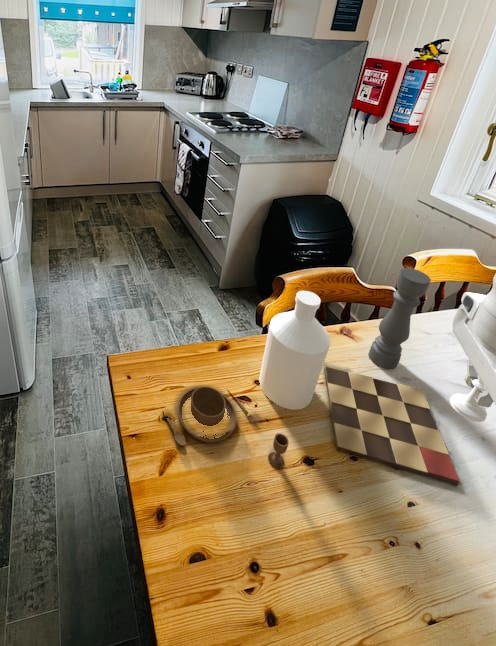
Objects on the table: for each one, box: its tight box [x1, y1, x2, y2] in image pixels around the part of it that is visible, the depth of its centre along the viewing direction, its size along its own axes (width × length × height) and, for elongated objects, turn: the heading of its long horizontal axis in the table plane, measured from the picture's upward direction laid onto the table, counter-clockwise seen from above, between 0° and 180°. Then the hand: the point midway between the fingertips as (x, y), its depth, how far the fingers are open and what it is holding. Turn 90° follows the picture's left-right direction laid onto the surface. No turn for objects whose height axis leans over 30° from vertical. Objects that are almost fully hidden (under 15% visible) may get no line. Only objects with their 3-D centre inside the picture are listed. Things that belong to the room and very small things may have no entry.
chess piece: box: [449, 375, 488, 423], centre depth 65 cm, size 5×5×10 cm
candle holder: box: [368, 267, 432, 371], centre depth 92 cm, size 6×6×25 cm
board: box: [323, 366, 460, 487], centre depth 82 cm, size 20×20×1 cm
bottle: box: [258, 290, 331, 411], centre depth 84 cm, size 12×12×25 cm
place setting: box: [165, 386, 290, 469], centre depth 77 cm, size 18×20×6 cm
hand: (476, 393), depth 66 cm, fingers closed on chess piece
